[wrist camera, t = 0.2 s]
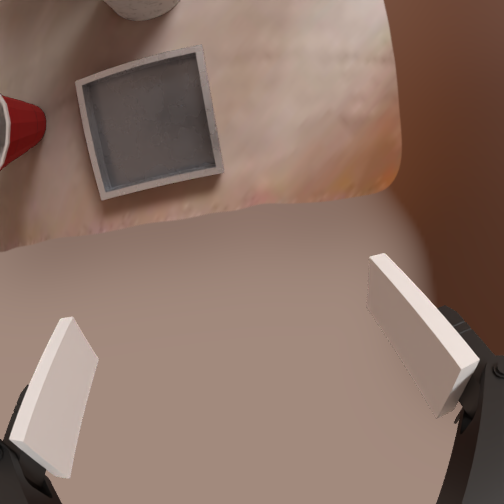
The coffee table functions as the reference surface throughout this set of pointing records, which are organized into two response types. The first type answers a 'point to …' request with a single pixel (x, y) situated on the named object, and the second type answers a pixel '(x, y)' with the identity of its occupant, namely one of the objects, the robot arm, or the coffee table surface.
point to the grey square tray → (150, 122)
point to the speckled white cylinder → (141, 8)
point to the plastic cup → (18, 128)
